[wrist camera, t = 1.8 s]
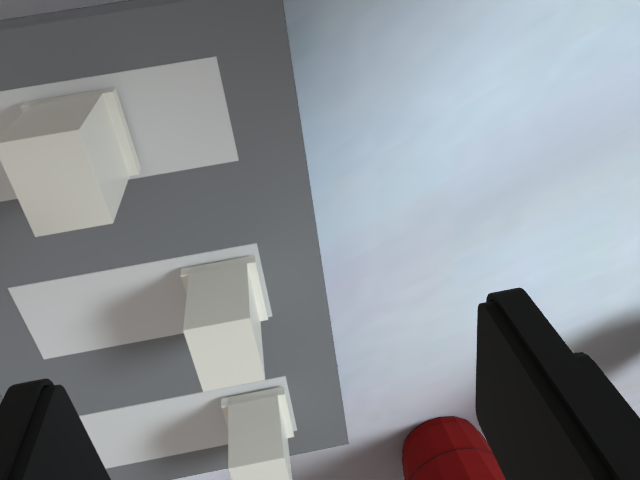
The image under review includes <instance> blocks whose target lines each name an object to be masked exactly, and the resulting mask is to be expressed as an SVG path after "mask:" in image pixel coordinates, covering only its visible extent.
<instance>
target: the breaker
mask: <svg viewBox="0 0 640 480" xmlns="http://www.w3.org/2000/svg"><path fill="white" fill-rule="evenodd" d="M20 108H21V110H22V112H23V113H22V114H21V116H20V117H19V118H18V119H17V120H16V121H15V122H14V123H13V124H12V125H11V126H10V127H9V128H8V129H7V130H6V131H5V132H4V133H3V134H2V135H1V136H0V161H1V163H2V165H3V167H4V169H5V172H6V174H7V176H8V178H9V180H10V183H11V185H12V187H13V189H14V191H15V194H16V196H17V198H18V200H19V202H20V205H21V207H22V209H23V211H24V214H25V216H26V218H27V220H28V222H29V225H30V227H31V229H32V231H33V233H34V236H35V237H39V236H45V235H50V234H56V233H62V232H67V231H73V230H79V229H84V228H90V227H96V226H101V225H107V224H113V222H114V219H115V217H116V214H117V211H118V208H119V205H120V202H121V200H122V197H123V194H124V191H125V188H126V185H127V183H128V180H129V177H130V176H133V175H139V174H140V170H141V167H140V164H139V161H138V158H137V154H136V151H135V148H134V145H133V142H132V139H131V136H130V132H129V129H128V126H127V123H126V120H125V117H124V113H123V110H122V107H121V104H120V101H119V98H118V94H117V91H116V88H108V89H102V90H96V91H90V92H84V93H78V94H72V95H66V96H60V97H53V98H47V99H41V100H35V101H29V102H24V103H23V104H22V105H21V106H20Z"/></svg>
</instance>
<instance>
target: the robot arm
mask: <svg viewBox="0 0 640 480" xmlns="http://www.w3.org/2000/svg"><path fill="white" fill-rule="evenodd" d="M476 415H477V419H478V422H479V425H480V427H481V429H482V432H483V434H484V436H485V438H486V440H487V442H488V444H489V446H490V448H491V450H492V452H493V454H494V456H495V458H496V460H497V463H498V465H499V467H500V469H501V471H502V473H503V475H504V477H505V479H506V480H640V418H639V417H638V415H637V414H636V413H635V412H634V411H633V409H632V408H631V407H630V406H629V404H628V403H627V402H626V401H625V399H624V398H623V397H622V396H621V394H620V393H619V392H618V391H617V389H616V388H615V387H614V386H613V384H612V383H611V382H610V381H609V379H608V378H607V377H606V376H605V374H604V373H603V372H602V371H601V369H600V368H599V367H598V366H597V364H596V363H595V362H594V361H593V360H592V359H591V358H590V357H589V356H588V355H586V354H584V353H582V352H580V353H572V351H571V350H570V349H569V347H568V346H567V345H566V344H565V342H564V341H563V340H562V338H561V337H560V336H559V334H558V333H557V332H556V331H555V329H554V328H553V327H552V325H551V324H550V323H549V321H548V320H547V319H546V317H545V316H544V315H543V314H542V312H541V311H540V310H539V308H538V307H537V306H536V304H535V303H534V302H533V301H532V299H531V298H530V297H529V295H528V294H527V293H526V292H525V291H524V290H523V289H522V288H515V289H510V290H504V291H499V292H494V293H490V294H488V296H487V301H486V302H485V303H481V304H479V306H478V320H477V364H476ZM0 480H111V479H110V477H109V475H108V473H107V471H106V469H105V467H104V465H103V463H102V461H101V459H100V457H99V455H98V453H97V451H96V449H95V447H94V445H93V443H92V441H91V439H90V437H89V435H88V433H87V431H86V429H85V427H84V425H83V423H82V421H81V419H80V417H79V415H78V413H77V411H76V409H75V407H74V405H73V403H72V402H71V400H70V398H69V396H68V394H67V392H66V390H65V388H64V387H63V386H62V385H54V384H53V382H52V381H51V380H49V379H40V380H34V381H29V382H24V383H19V384H14V385H12V386H10V387H9V388H8V390H7V391H6V393H5V396H4V398H3V400H2V402H1V404H0Z"/></svg>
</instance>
